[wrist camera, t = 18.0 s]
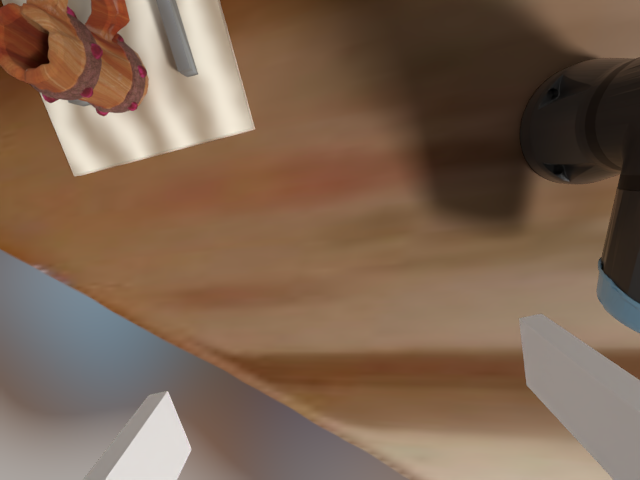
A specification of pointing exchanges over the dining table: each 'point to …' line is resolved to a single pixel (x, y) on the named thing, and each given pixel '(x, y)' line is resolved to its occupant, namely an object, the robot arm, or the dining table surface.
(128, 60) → the mug
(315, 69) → the dining table surface
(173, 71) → the notched board
